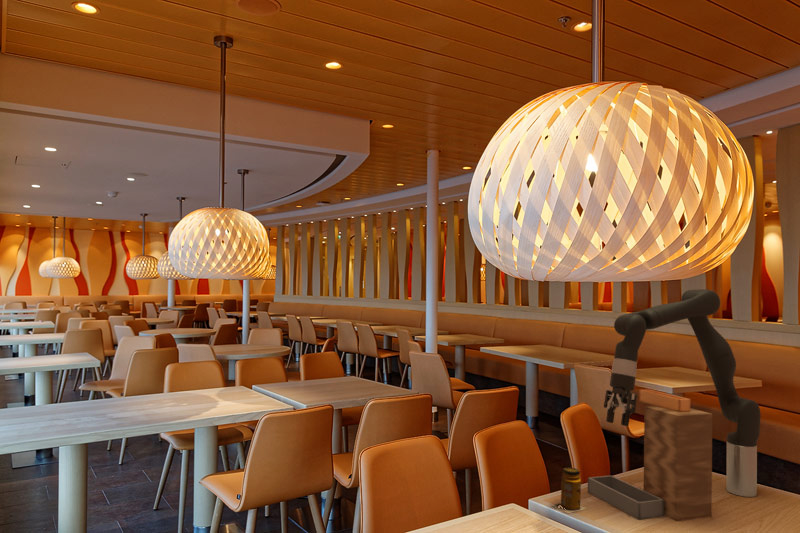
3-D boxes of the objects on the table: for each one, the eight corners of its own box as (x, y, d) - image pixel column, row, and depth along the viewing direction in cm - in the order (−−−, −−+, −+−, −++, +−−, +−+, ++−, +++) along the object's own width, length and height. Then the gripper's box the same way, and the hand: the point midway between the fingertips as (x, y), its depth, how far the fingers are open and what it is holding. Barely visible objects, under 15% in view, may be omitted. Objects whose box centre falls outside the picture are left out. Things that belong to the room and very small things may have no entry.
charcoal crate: (587, 492, 200) (587, 477, 200) (611, 489, 203) (611, 475, 203) (638, 519, 177) (638, 503, 177) (664, 516, 180) (664, 500, 180)
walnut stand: (643, 504, 190) (644, 406, 191) (676, 500, 194) (677, 404, 196) (676, 520, 177) (677, 415, 178) (711, 516, 181) (712, 413, 182)
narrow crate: (638, 401, 200) (638, 389, 200) (649, 400, 202) (649, 389, 202) (679, 412, 183) (679, 399, 183) (690, 411, 185) (690, 399, 185)
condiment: (586, 508, 185) (586, 471, 185) (568, 513, 180) (569, 475, 180) (568, 501, 191) (568, 464, 191) (550, 506, 186) (551, 468, 186)
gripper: (647, 377, 183) (640, 429, 180) (621, 375, 196) (614, 423, 194) (625, 372, 181) (618, 424, 179) (601, 371, 195) (594, 419, 192)
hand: (616, 424), depth 186 cm, fingers open, 8 cm apart
